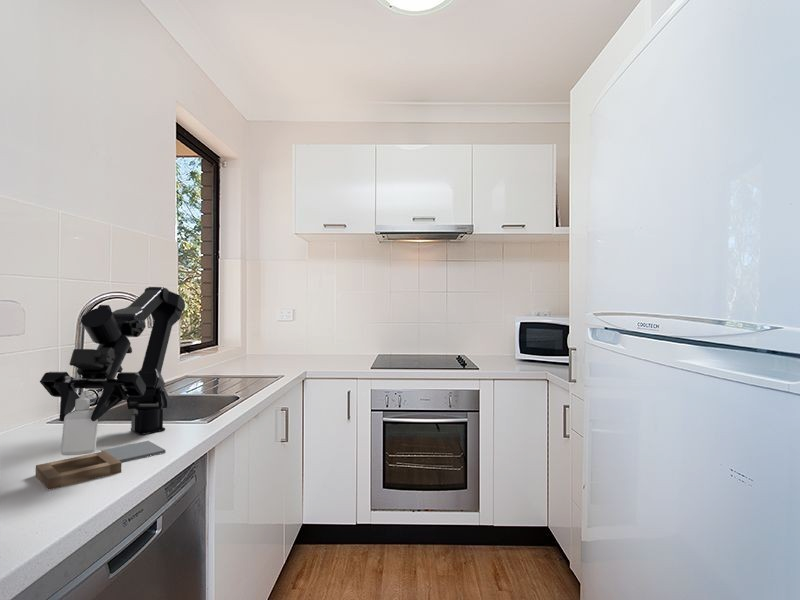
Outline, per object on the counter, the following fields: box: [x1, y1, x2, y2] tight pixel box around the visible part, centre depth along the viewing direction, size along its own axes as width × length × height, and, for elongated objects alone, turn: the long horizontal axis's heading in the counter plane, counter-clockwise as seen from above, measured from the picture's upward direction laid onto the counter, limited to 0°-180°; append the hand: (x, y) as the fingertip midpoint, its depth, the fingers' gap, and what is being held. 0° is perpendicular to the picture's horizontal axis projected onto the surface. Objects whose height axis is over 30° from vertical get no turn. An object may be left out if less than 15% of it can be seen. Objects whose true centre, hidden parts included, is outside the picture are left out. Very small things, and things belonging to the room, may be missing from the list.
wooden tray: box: [35, 451, 123, 490], centre depth 91 cm, size 12×10×2 cm
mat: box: [100, 440, 166, 463], centre depth 104 cm, size 10×10×1 cm
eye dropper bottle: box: [60, 391, 99, 456], centre depth 91 cm, size 4×6×12 cm
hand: (77, 420), depth 90 cm, fingers closed on eye dropper bottle, 5 cm apart
